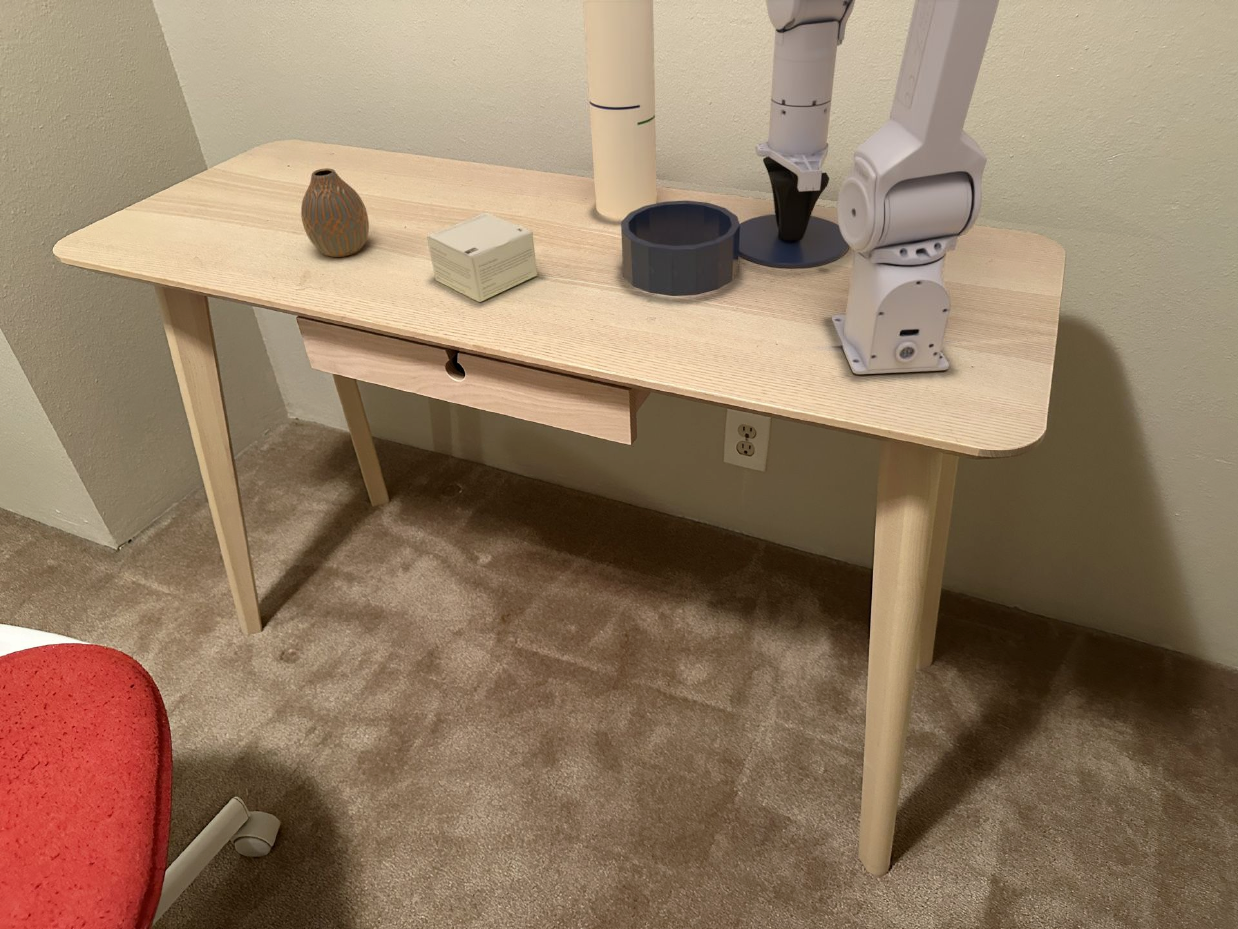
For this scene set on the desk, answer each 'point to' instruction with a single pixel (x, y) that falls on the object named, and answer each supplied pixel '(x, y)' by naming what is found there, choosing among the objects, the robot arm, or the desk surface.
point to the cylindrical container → (621, 103)
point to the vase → (334, 215)
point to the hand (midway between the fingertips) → (789, 232)
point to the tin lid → (790, 243)
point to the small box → (482, 256)
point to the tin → (680, 247)
